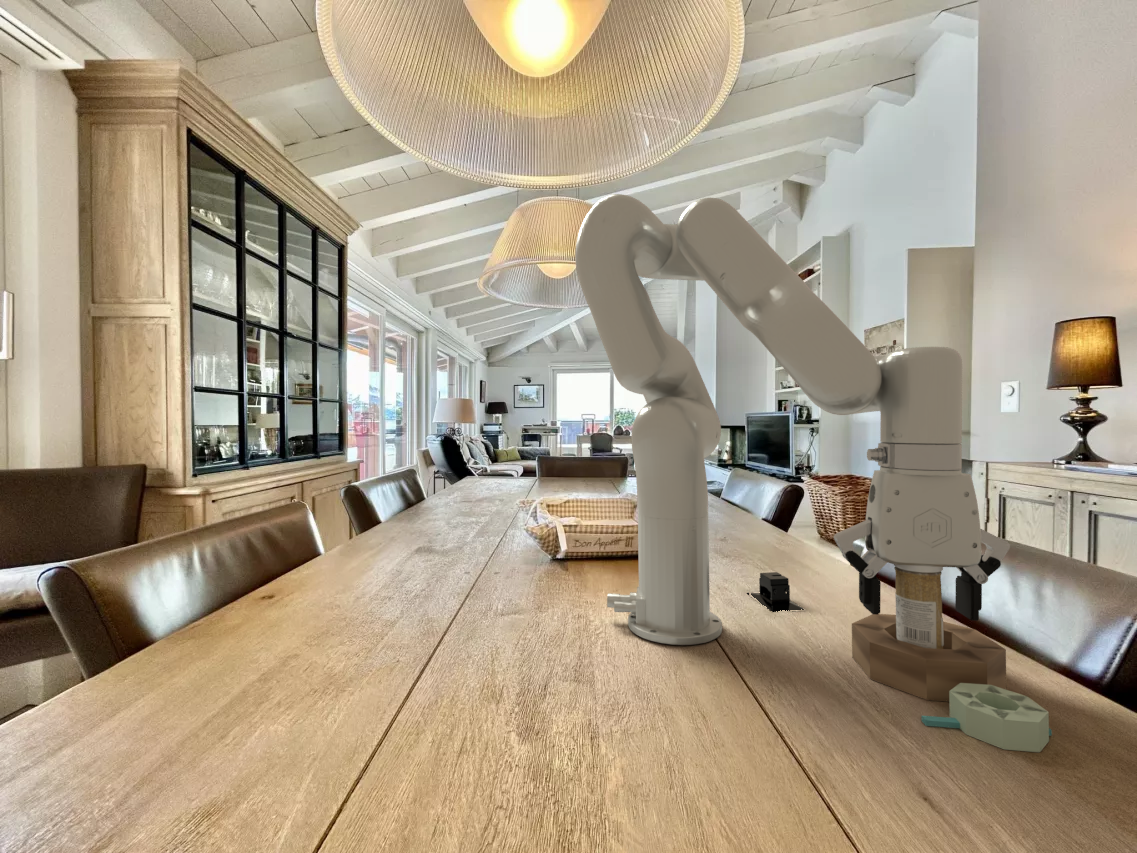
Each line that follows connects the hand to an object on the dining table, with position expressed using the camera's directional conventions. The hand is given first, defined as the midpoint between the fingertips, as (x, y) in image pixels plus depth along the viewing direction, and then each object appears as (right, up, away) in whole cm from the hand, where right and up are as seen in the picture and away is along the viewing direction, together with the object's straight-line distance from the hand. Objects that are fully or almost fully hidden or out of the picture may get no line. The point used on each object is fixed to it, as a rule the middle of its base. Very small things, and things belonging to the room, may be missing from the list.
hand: (918, 613), depth 58 cm
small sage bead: (0, -6, -11) cm, 13 cm away
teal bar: (-1, -6, -11) cm, 13 cm away
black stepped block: (-7, -7, +24) cm, 26 cm away
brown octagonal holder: (+1, -6, 0) cm, 6 cm away
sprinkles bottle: (0, -7, 0) cm, 7 cm away
